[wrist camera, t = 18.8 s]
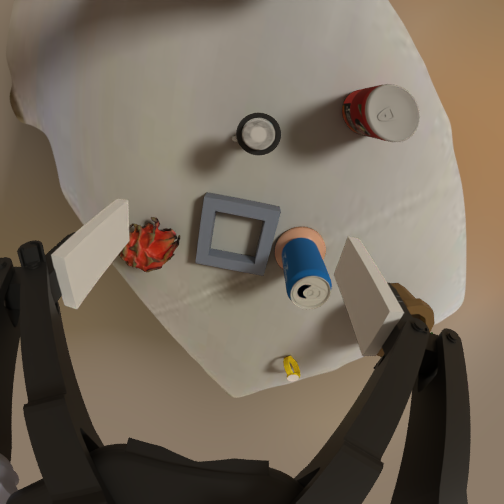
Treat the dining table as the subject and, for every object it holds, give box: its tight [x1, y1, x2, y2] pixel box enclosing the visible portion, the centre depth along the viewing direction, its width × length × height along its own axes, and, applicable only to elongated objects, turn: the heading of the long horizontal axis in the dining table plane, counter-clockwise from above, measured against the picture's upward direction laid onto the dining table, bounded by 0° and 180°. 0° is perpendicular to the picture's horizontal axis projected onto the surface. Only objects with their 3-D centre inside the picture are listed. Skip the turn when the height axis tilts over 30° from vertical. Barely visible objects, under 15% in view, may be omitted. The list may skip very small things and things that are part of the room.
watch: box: [283, 356, 300, 382], centre depth 59 cm, size 6×3×6 cm, turn 34°
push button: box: [232, 113, 281, 155], centre depth 34 cm, size 7×5×10 cm
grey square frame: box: [196, 192, 281, 276], centre depth 45 cm, size 12×12×2 cm
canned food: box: [342, 84, 420, 142], centre depth 31 cm, size 8×8×11 cm
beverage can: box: [282, 237, 332, 309], centre depth 42 cm, size 6×6×12 cm
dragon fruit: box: [119, 217, 180, 272], centre depth 44 cm, size 8×8×12 cm
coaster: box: [275, 227, 326, 269], centre depth 47 cm, size 9×9×1 cm
